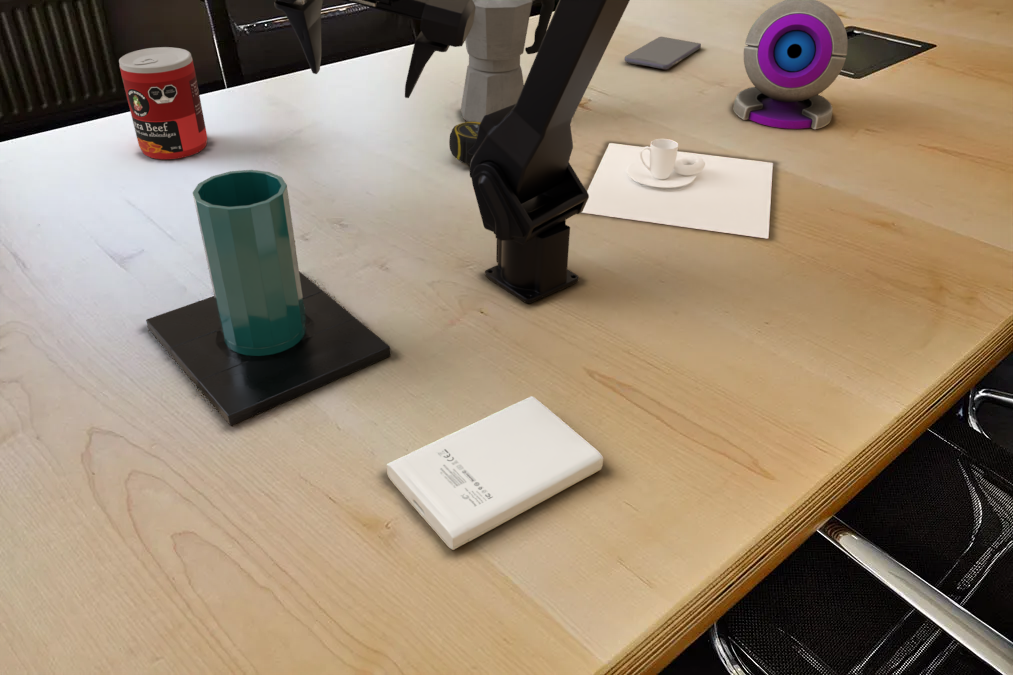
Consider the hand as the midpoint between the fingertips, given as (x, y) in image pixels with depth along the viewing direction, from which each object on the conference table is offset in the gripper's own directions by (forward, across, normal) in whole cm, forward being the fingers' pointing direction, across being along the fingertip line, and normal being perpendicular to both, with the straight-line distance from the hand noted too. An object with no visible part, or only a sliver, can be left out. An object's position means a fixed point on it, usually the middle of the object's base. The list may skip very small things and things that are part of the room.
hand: (362, 84), depth 83 cm
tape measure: (+13, -12, -15) cm, 23 cm away
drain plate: (+12, 0, +26) cm, 28 cm away
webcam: (+8, -49, -38) cm, 62 cm away
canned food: (+20, +25, -11) cm, 34 cm away
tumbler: (+11, 0, +26) cm, 28 cm away
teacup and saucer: (+8, -35, -12) cm, 38 cm away
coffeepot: (+14, -12, -30) cm, 35 cm away
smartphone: (+12, -34, -60) cm, 70 cm away
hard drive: (+7, -21, +38) cm, 44 cm away
